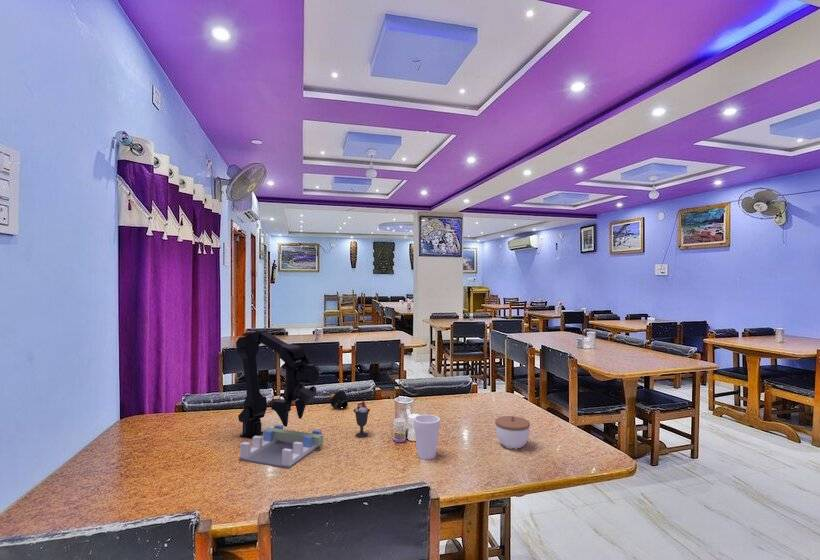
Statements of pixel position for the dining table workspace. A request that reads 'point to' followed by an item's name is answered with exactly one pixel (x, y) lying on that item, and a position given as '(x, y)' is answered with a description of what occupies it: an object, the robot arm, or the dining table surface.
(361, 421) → the sundae
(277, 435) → the green flat block
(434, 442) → the foam cup
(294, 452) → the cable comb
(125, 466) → the dining table surface
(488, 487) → the dining table surface
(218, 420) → the dining table surface
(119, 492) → the dining table surface
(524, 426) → the lidded bowl
